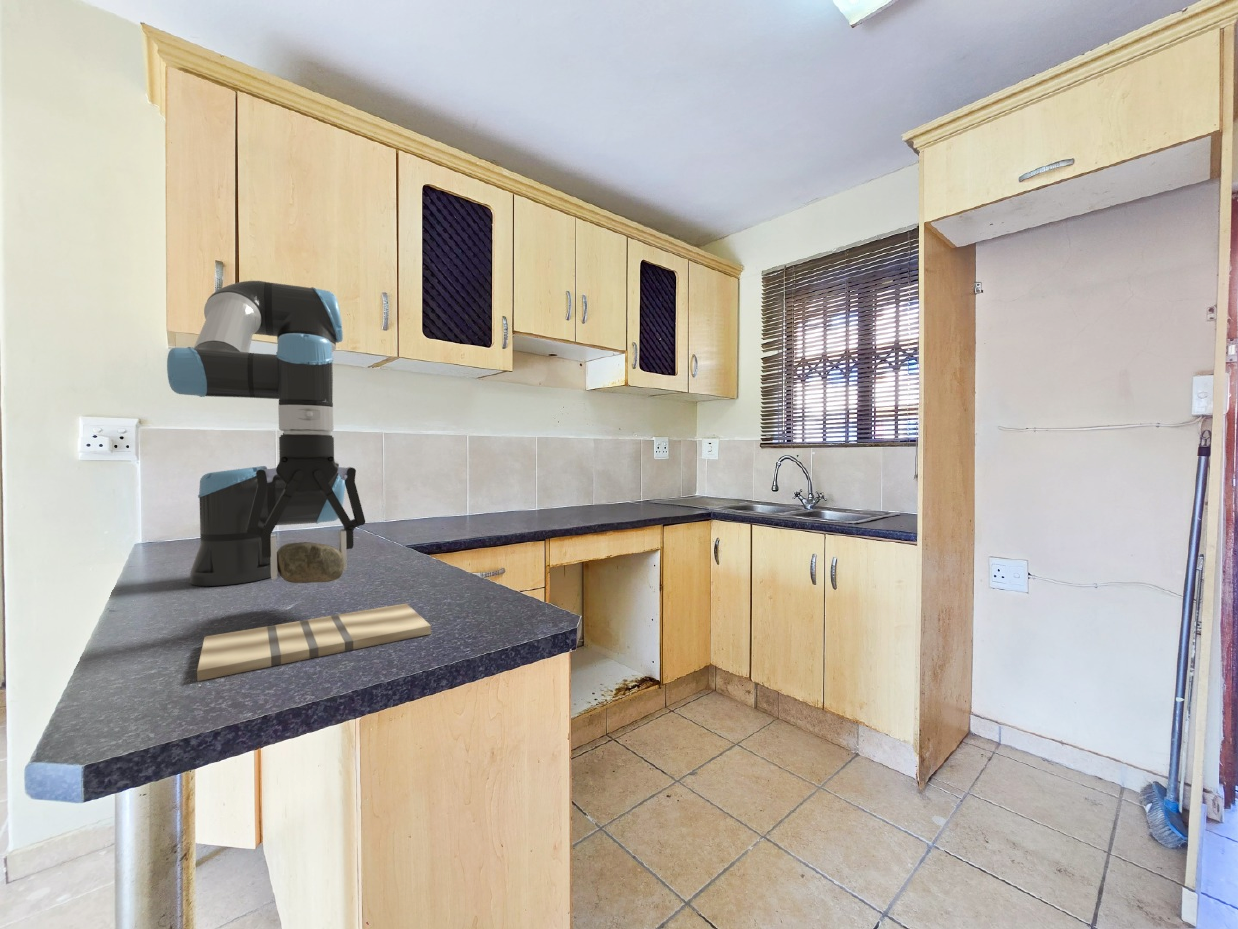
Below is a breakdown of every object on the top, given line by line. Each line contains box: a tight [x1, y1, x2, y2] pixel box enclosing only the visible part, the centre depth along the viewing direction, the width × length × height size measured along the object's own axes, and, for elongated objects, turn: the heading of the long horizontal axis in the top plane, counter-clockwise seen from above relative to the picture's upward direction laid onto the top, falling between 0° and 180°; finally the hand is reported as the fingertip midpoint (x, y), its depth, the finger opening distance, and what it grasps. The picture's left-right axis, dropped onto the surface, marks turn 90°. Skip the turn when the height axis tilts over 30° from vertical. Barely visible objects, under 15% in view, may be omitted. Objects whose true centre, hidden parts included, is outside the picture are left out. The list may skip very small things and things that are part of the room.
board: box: [196, 603, 432, 682], centre depth 73 cm, size 14×26×1 cm, turn 126°
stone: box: [277, 541, 345, 584], centre depth 85 cm, size 9×14×10 cm, turn 39°
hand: (309, 572), depth 84 cm, fingers closed on stone, 9 cm apart
